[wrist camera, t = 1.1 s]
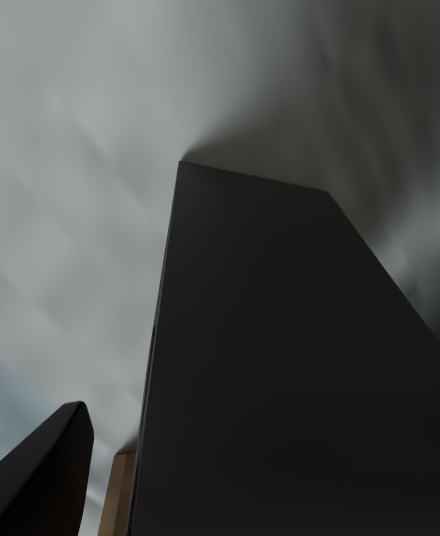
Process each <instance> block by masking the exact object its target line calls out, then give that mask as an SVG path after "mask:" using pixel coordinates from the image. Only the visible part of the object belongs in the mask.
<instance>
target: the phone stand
mask: <svg viewBox="0 0 440 536" xmlns="http://www.w3.org/2000/svg"><path fill="white" fill-rule="evenodd" d="M126 536H440V343H439V342H438V340H437V339H436V338H435V336H434V335H433V334H432V332H431V331H430V330H429V328H428V327H427V326H426V324H425V323H424V321H423V320H422V319H421V317H420V316H419V315H418V313H417V312H416V311H415V309H414V308H413V307H412V305H411V304H410V303H409V301H408V300H407V298H406V297H405V296H404V294H403V293H402V292H401V290H400V289H399V288H398V286H397V285H396V284H395V282H394V281H393V279H392V278H391V277H390V275H389V274H388V273H387V271H386V270H385V269H384V267H383V266H382V265H381V263H380V262H379V260H378V259H377V258H376V256H375V255H374V254H373V252H372V251H371V250H370V248H369V247H368V246H367V244H366V243H365V242H364V240H363V239H362V237H361V236H360V235H359V233H358V232H357V231H356V229H355V228H354V227H353V225H352V224H351V223H350V221H349V220H348V218H347V217H346V216H345V214H344V213H343V212H342V210H341V209H340V208H339V206H338V205H337V204H336V202H335V201H334V199H333V198H332V197H331V195H330V194H329V193H328V192H326V191H321V190H317V189H312V188H307V187H302V186H298V185H293V184H288V183H283V182H278V181H274V180H269V179H264V178H259V177H255V176H250V175H245V174H240V173H235V172H231V171H226V170H221V169H216V168H212V167H207V166H202V165H197V164H192V163H188V162H183V161H179V164H178V170H177V177H176V183H175V190H174V196H173V203H172V209H171V216H170V222H169V228H168V235H167V241H166V248H165V254H164V261H163V267H162V274H161V280H160V287H159V293H158V299H157V306H156V312H155V319H154V325H153V332H152V338H151V345H150V351H149V358H148V364H147V371H146V379H145V387H144V395H143V403H142V411H141V419H140V427H139V435H138V443H137V451H136V459H135V467H134V475H133V483H132V490H131V498H130V506H129V514H128V522H127V530H126Z"/></svg>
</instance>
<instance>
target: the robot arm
mask: <svg viewBox="0 0 440 536" xmlns="http://www.w3.org/2000/svg"><path fill="white" fill-rule="evenodd" d="M93 443H94V430H93V426H92V423H91V419H90V416H89V413H88V409H87V406H86V404H85V403H84V402H83V401H76V402H70V403H65V404H63V405H62V406H61V407H60V408H59V409H57V410H56V411H55V412H54V413H53V414H52V415H51V416H50V417H49V418H47V419H46V420H45V421H44V422H43V423H42V424H41V425H40V426H39V427H37V428H36V429H35V430H34V431H33V432H32V433H31V434H30V435H29V436H27V437H26V438H25V439H24V440H23V441H22V442H21V443H20V444H18V445H17V446H16V447H15V448H14V449H13V450H12V451H11V452H10V453H8V454H7V455H6V456H5V457H4V458H3V459H2V460H1V461H0V536H78V533H79V529H80V525H81V520H82V516H83V510H84V504H85V497H86V491H87V484H88V477H89V470H90V463H91V456H92V450H93Z"/></svg>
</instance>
